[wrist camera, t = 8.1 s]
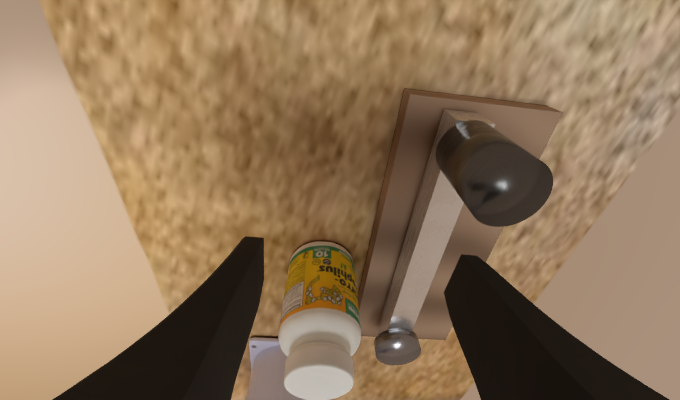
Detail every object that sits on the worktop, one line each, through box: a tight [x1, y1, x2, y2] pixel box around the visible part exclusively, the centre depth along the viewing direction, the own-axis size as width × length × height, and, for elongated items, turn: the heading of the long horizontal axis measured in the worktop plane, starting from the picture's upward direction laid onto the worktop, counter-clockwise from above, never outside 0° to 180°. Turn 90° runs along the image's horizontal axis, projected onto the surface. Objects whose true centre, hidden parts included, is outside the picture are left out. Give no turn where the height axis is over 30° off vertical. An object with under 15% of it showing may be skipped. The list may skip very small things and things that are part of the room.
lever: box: [374, 109, 553, 365], centre depth 19 cm, size 20×4×6 cm, turn 173°
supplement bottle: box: [278, 241, 361, 400], centre depth 21 cm, size 5×5×10 cm
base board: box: [357, 89, 563, 340], centre depth 23 cm, size 22×9×2 cm, turn 173°
